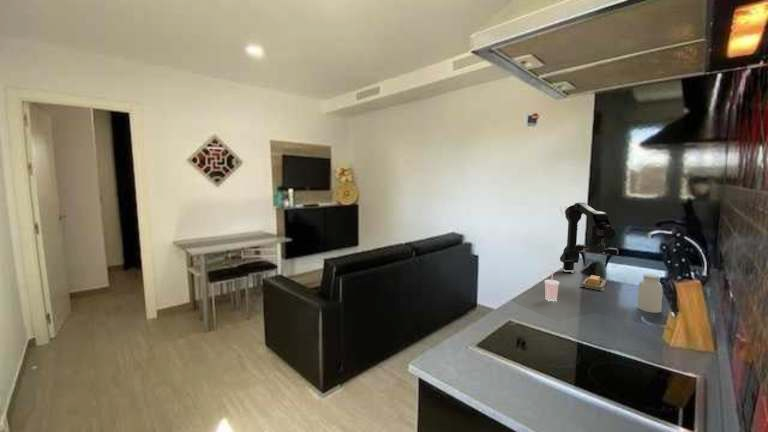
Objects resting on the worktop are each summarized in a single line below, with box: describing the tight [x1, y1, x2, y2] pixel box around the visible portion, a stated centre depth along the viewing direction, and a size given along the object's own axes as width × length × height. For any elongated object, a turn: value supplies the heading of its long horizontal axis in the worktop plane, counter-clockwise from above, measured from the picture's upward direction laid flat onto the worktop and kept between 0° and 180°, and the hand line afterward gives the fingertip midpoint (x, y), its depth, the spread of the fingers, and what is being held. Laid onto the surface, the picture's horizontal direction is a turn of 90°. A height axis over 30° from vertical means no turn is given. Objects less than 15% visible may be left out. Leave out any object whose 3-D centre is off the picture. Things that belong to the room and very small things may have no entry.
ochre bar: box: [588, 274, 601, 285], centre depth 173 cm, size 8×4×4 cm, turn 139°
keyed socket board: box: [581, 277, 607, 292], centre depth 173 cm, size 16×10×2 cm, turn 139°
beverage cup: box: [544, 270, 560, 303], centre depth 152 cm, size 6×6×14 cm
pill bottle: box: [637, 273, 664, 314], centre depth 140 cm, size 8×8×15 cm
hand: (595, 265), depth 172 cm, fingers open, 9 cm apart
